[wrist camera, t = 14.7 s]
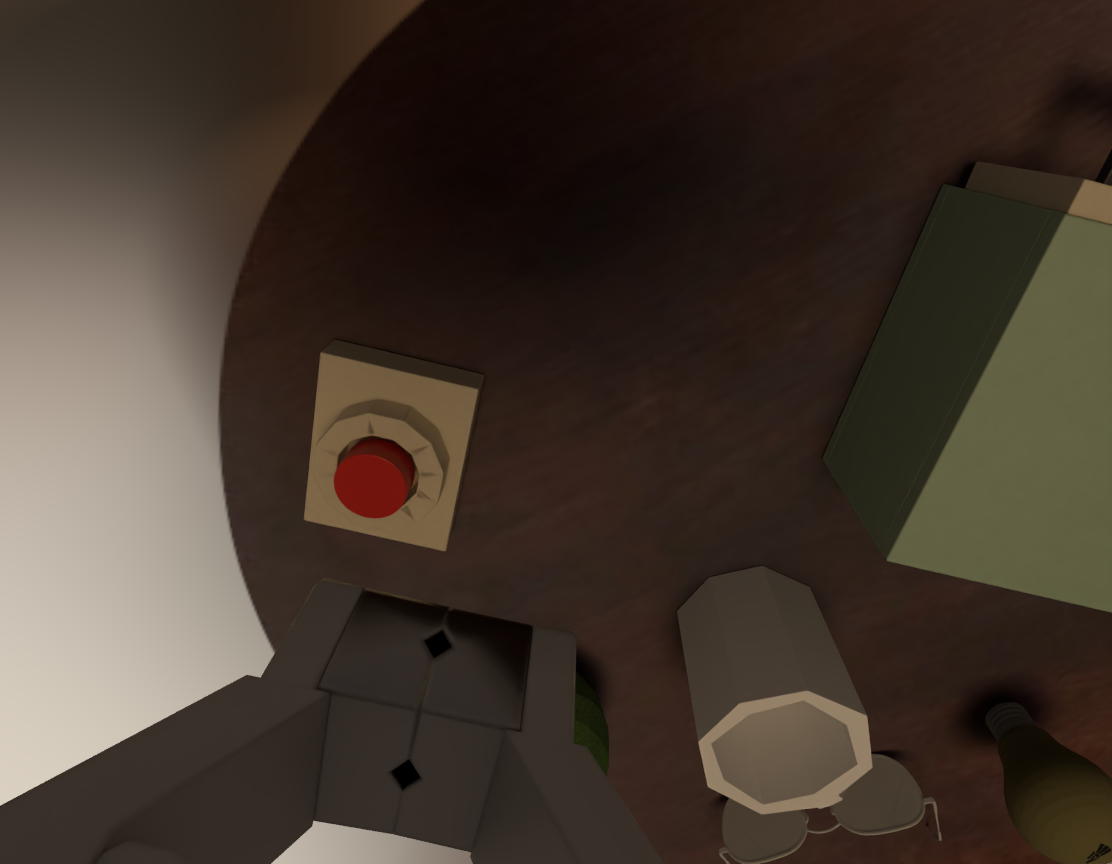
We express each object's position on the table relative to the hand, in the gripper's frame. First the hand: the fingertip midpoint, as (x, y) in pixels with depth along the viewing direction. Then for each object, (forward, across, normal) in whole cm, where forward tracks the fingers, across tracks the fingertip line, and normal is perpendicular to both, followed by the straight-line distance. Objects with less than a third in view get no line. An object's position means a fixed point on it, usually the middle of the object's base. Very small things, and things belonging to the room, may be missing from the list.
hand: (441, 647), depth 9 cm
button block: (+29, +6, +13) cm, 32 cm away
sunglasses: (+29, -27, +34) cm, 52 cm away
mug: (+29, -18, +21) cm, 40 cm away
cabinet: (+29, -23, +1) cm, 37 cm away
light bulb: (+29, -34, +22) cm, 50 cm away
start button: (+25, +6, +13) cm, 29 cm away
